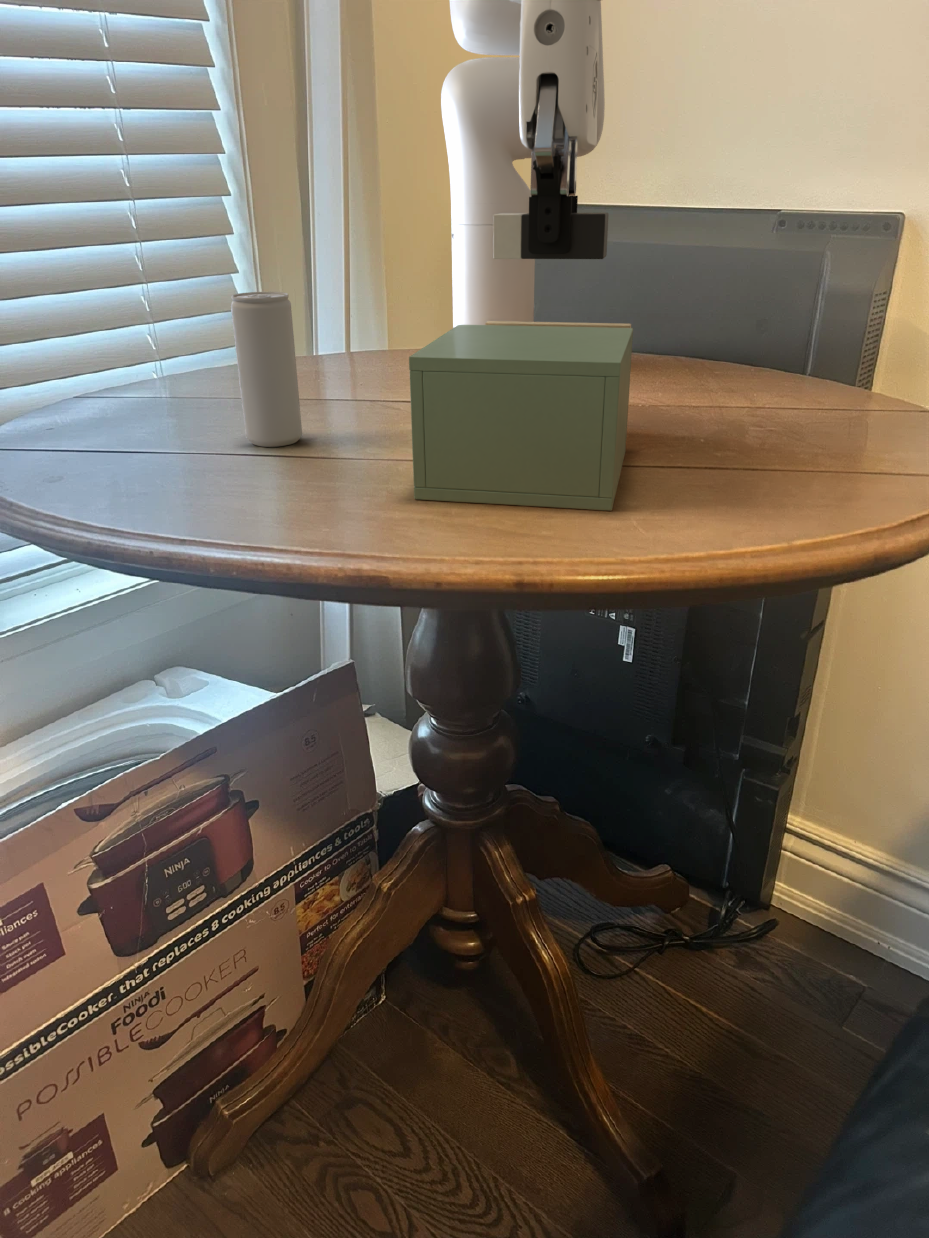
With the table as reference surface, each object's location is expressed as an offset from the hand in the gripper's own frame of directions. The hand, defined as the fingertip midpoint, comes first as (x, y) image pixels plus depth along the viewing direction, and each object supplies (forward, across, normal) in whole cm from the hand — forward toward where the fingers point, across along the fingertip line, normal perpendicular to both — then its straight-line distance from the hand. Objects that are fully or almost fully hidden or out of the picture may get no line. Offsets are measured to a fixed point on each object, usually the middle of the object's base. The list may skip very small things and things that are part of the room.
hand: (552, 249), depth 73 cm
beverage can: (+15, -5, +23) cm, 28 cm away
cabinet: (+15, -11, 0) cm, 19 cm away
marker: (+1, 0, 0) cm, 1 cm away
